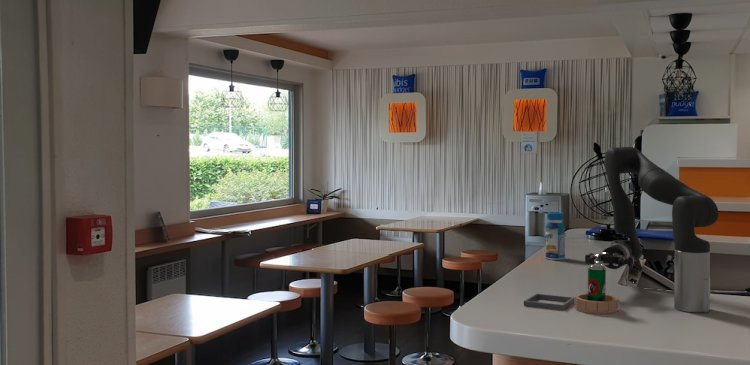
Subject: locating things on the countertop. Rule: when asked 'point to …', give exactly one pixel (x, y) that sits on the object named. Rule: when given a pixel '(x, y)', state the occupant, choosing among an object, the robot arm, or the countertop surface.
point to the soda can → (596, 283)
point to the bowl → (597, 304)
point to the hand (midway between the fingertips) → (604, 262)
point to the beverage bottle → (555, 236)
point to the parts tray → (567, 303)
